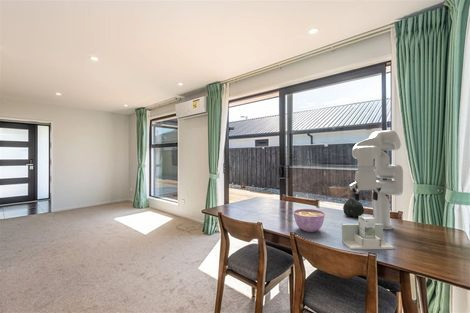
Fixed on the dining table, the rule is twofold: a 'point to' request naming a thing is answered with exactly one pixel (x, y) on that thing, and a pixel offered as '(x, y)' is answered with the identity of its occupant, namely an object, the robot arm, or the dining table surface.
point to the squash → (353, 208)
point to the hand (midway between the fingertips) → (366, 200)
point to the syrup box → (367, 227)
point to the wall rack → (356, 242)
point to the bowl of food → (309, 219)
